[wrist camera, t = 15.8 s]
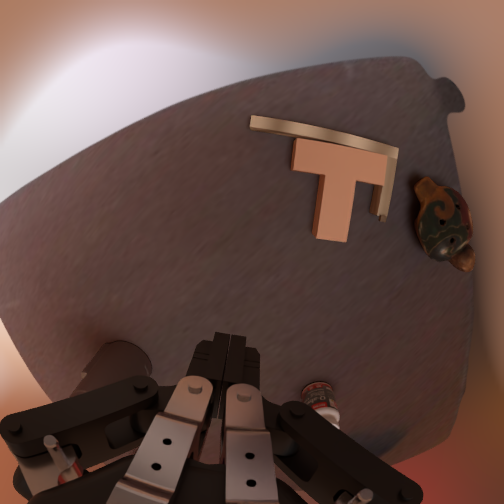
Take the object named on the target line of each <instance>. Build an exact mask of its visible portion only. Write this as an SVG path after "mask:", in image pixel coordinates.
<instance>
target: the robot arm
mask: <svg viewBox="0 0 504 504" xmlns="http://www.w3.org/2000/svg"><path fill="white" fill-rule="evenodd" d="M229 340H230V334H225V333H219V332H215V336H214V339H213V342H212V341H207V340H202V341H201V342H200V343H199V344H197V346H196V349H195V352H194V354H193V358H192V360H191V363H190V366H189V368H188V371H187V374H186V377H184V378H182V379H181V380H180V381H179V383H178V384H177V385H174V386H158V384H157V383H156V381H155V380H153V379H152V378H150V375H151V373H152V367H151V363H150V360H149V359H148V357H147V356H146V354H145V353H144V352H143V351H142V350H141V349H139V348H138V347H136V346H135V345H133V344H131V343H128V342H124V341H117V342H113V343H111V344H108V343H105V344H104V345H103V346H102V347H101V349H100V350H99V351H98V352H97V353H96V355H95V356H94V357H93V358H92V360H91V361H90V362H89V363H88V364H87V366H86V367H85V368H84V369H83V371H82V372H81V377H82V381H81V382H80V383H79V385H78V386H77V387H76V389H75V390H74V391H73V393H72V394H71V395H70V397H69V398H67V399H64V400H61V401H57V402H54V403H51V404H47V405H44V406H40V407H37V408H33V409H29V410H26V411H22V412H18V413H14V414H10V415H7V416H6V417H4V418H3V419H2V420H1V422H0V434H1V436H2V438H3V439H4V440H5V442H6V444H7V445H8V448H9V449H10V451H11V453H12V454H13V456H14V457H15V458H16V460H17V461H18V464H19V465H18V467H17V469H16V471H15V473H14V476H13V485H14V488H15V489H16V491H17V492H18V493H19V494H21V495H22V496H23V497H25V498H26V499H27V500H28V501H29V502H28V503H27V504H308V503H307V502H305V500H303V499H302V498H301V497H300V496H299V495H298V494H297V493H296V492H295V491H294V490H293V489H292V488H291V487H290V486H289V485H287V484H286V483H285V482H283V481H282V480H280V479H278V478H276V477H275V469H274V463H275V464H276V465H277V466H278V467H279V468H280V469H281V470H282V471H283V472H284V473H285V474H286V475H287V476H288V477H289V478H291V479H292V480H293V481H294V482H295V483H296V484H297V485H298V486H299V487H300V488H301V489H303V490H304V491H305V492H306V493H307V494H308V495H309V496H311V497H312V498H313V499H314V500H315V501H316V502H318V503H319V504H420V503H421V502H422V500H423V491H422V489H421V487H420V486H419V485H418V484H417V483H416V482H414V481H413V480H411V479H409V478H408V477H406V476H405V475H403V474H402V473H400V472H398V471H397V470H396V469H394V468H392V467H391V466H390V465H388V464H387V463H385V462H384V461H382V460H381V459H379V458H378V457H376V456H375V455H374V454H372V453H371V452H369V451H368V450H366V449H365V448H364V447H362V446H361V445H359V444H358V443H357V442H355V441H354V440H353V439H351V438H350V437H349V436H347V435H346V434H345V433H343V432H342V431H341V430H339V429H338V428H337V427H335V426H334V425H333V424H331V423H330V422H329V421H328V420H326V419H325V418H324V417H322V416H321V415H320V414H319V413H317V412H316V411H315V410H314V409H312V408H311V407H310V406H309V405H307V404H305V403H303V402H299V401H289V402H286V403H284V404H283V405H282V406H279V405H276V404H273V403H271V402H269V401H267V400H266V399H265V398H264V397H263V396H262V395H261V393H260V389H259V387H260V354H259V353H258V351H257V350H256V348H250V347H245V346H246V337H244V336H238V335H231V341H230V346H229ZM228 347H229V352H228ZM227 354H228V357H227ZM226 361H227V363H226ZM225 368H226V369H225ZM223 379H224V380H223ZM222 385H223V387H222ZM221 391H222V394H221ZM220 396H221V402H220ZM219 402H220V409H219V416H218V419H223V420H222V427H221V433H220V456H219V464H210V465H209V464H204V463H201V462H199V459H200V456H201V453H202V450H203V446H204V443H205V440H206V437H207V434H208V429H209V426H210V424H211V419H212V418H217V413H218V408H219ZM138 446H140V447H139V449H138V451H137V453H136V454H134V455H129V456H126V457H123V458H121V459H119V460H117V461H114V462H112V463H110V464H108V465H106V466H104V467H102V468H99V469H97V470H95V471H93V472H88V471H87V470H86V469H87V468H89V467H92V466H94V465H97V464H99V463H102V462H104V461H107V460H109V459H112V458H114V457H116V456H119V455H121V454H123V453H125V452H128V451H130V450H132V449H134V448H136V447H138Z"/></svg>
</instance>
